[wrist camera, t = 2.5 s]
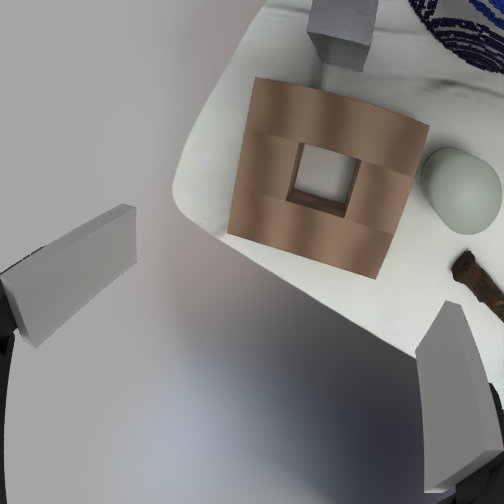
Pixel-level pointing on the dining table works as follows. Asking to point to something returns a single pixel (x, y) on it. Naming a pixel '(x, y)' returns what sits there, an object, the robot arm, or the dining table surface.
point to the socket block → (316, 208)
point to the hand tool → (479, 283)
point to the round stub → (461, 190)
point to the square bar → (342, 30)
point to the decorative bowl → (500, 1)
